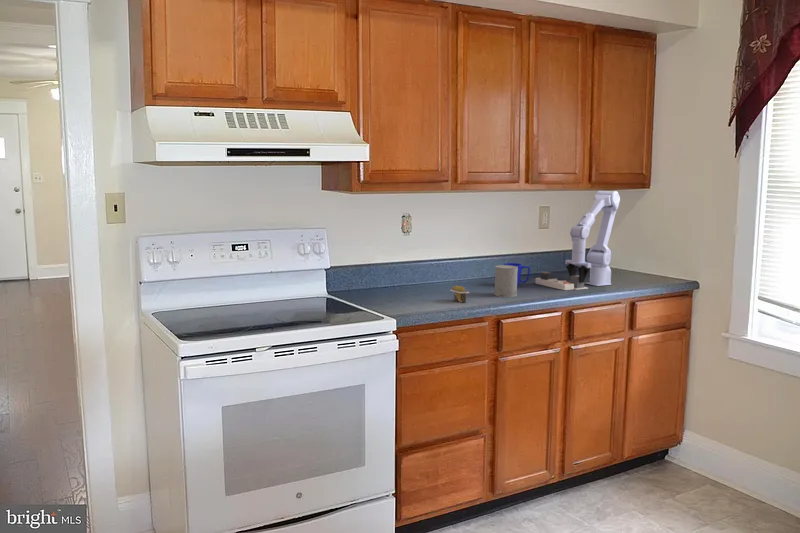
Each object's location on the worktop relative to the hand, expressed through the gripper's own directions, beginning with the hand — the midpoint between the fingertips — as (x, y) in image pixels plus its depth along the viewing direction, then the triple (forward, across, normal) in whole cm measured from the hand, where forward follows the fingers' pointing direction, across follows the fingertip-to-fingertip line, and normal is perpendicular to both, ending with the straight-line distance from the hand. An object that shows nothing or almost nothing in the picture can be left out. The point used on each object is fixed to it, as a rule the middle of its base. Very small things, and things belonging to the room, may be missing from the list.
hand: (577, 281), depth 310 cm
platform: (+4, +3, -67) cm, 67 cm away
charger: (+2, 0, 0) cm, 2 cm away
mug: (+3, -17, -22) cm, 28 cm away
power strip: (+3, -8, -6) cm, 11 cm away
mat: (+3, 0, 0) cm, 3 cm away
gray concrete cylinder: (+3, 0, -40) cm, 41 cm away
